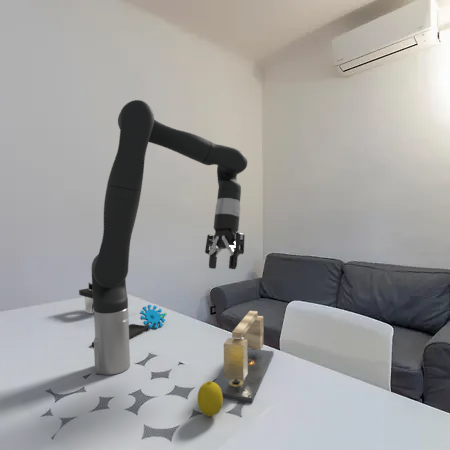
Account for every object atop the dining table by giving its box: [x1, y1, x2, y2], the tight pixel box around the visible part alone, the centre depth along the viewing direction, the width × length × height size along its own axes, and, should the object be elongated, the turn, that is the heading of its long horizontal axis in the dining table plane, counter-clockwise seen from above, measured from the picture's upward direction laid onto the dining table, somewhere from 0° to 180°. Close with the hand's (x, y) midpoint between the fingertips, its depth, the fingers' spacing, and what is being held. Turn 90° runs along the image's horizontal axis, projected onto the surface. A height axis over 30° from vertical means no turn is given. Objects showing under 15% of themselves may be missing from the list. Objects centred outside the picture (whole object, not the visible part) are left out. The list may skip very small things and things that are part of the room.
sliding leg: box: [231, 310, 264, 350], centre depth 102 cm, size 20×5×12 cm, turn 162°
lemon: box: [197, 380, 224, 418], centre depth 80 cm, size 6×6×8 cm
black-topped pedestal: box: [78, 281, 94, 315], centre depth 155 cm, size 28×26×13 cm
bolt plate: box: [213, 337, 274, 404], centre depth 100 cm, size 27×11×12 cm, turn 162°
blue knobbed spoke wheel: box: [139, 304, 167, 330], centre depth 139 cm, size 11×6×10 cm
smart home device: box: [91, 323, 149, 348], centre depth 128 cm, size 8×2×20 cm
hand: (222, 268), depth 108 cm, fingers open, 8 cm apart
